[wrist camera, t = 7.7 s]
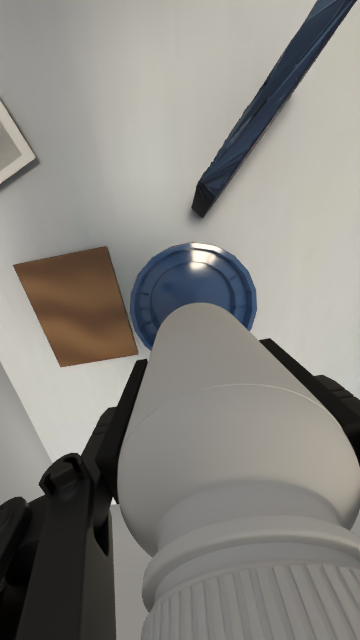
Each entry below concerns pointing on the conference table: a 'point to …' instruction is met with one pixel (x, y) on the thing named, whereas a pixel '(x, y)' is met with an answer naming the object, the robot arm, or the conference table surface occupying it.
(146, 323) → the bowl
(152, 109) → the conference table surface
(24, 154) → the touchpad
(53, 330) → the mat
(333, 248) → the conference table surface
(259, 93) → the vhs cassette tape
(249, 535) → the pill bottle
